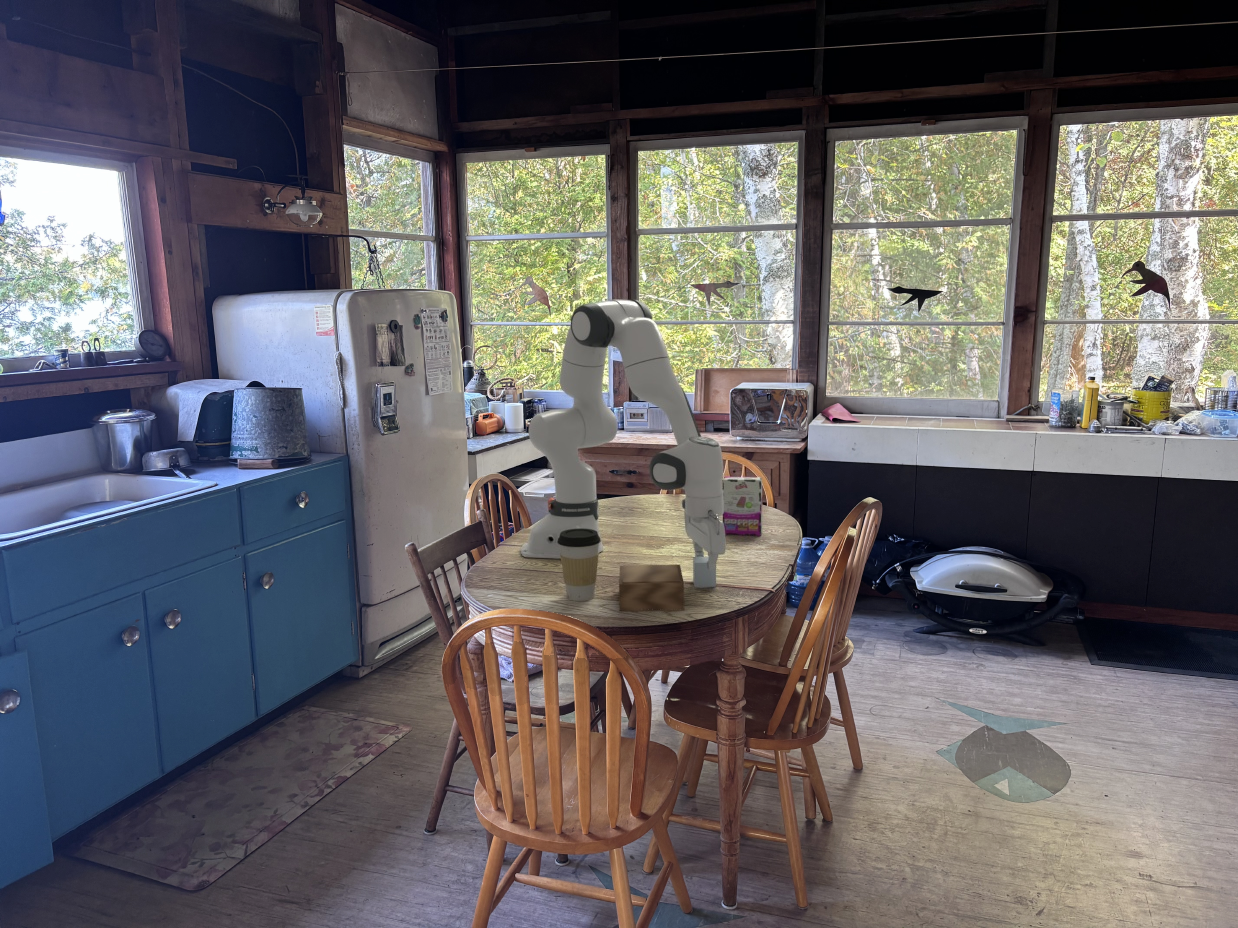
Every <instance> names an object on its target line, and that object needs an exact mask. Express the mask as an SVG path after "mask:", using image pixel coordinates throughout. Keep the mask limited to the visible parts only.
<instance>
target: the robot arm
mask: <svg viewBox="0 0 1238 928" xmlns="http://www.w3.org/2000/svg"><path fill="white" fill-rule="evenodd" d="M651 311H652V310H651V309H650V307H649V306H648V305H647V304H646V303H645V302H643V301H641V300H638V299H633V298H631V299H630V298H629V299H608V300H603V301H597V302H587V303H584V304H582V305H579V306H578V307H577V308H575V309H574V310H573V312H572V315H571V316H570V317H571V319H570V326H569V328H568V331H567V335H566V338H565V342H564V346H563V353H562V359H561V367H560V373H559V380H558V381H559V385H560V388H561V389H562V391H563V392H564V393H565V395H567V396H569V397H571V398H573V405H572V407H571V408H569V407H568V408H560V409H559V408H558V409H549V410H547V411H544V412H540V413H538V414H536V415H534V416H533V417H532V419H531V420H530V422H529V425H528V437H529V440H530V442H531V444H532V445H533V446H534V448H536V449H537V450H538V451H540V452H541V453H542V454H543V455H544V457H546V459H547V460H548V461H549V464H550V465H551V469H552V472H553V479H554V491H555V498H553V497H550V498H549V499H548V501H547V508H548V509H547V510H548V511H547V512H548V513H547V514H546V515H545V516H543V518H541V519H540V520H539V521H537V522H536V523H535V524H534V525H533V526H532V527H531V529H530V531H529V535H528V541H527V542H525V543H524V544H523V545H522V546H521V547H520V555H521V554H522V555H521V556H522V557H524V558H535V559H536V558H538V559H560V560H561V557H560V554H561V551H560V545H559V544H558V543H557V541H558V538H559V536H560V533H561V532H562V531H565V530H569V529H578V528H584V529H592V530H595V531H597V532H598V536H599V537H600V539H601V534H600V528H599V516H600V510H599V508H600V507H599V499H598V498H597V474H596V471H595V469H594V467H592V466H591V465H590V464H588V463H586V462H584V461H582V460H581V459H580V456H579V449H586V448H593V447H598V446H602V445H605V444H607V443H609V442H612V441H613V440H614V439H615V438H616V435H617V433H618V429H619V428H618V427H619V426H618V425H619V424H618V419H617V416H616V415H615V413H614V412H613V411H612V409H611V408H609V407H608V406H607V404H606V402H605V399H604V396H603V381H604V380H603V379H604V371H605V364H606V359H607V358H606V356H607V350H608V347H615V348H616V349H617V350H618V351H619V353H620V357H621V361H622V365H623V370H624V375H625V379H626V383H627V384H628V387H629V389H630V391H631V393H632V394H634V395H635V396H636V397H637V398H638V399H640V400H642V401H644V402H646V403H649V404H652V405H653V406H655V407H657V408H659V409H660V410H661V411H662V412H663V413H664V414H665V415H666V417H667V420H668V421H669V425H670V427H671V430H672V433H673V435H674V438H675V440H676V444H677V446H675V447H671V448H669V449H666V450H665V449H664V450H663V451H660V452H658V453H656V454H654V456H653V457H652V458H651V459H650V462H649V466H648V467H649V469H648V471H649V476H650V479H651V481H652V483H653V484H654V485H655V487H657V488H658V489H659V490H662V491H674V490H675V491H676V490H680V489H681V490H683V491H684V493H685V498H682V500H681V507H682V509H683V515H684V517H683V518H684V519H683V520H684V527H685V533H686V536H687V537H688V538H689V539H691V540H692V544H693V545H692V546H693V549H694V557H705V556H704V555H705V553H704V551H703V550H705V552H707V557H708V561H707V568H708V569H709V570H716V571H717V561H718V559H719V556H721V555H724V554H725V553H726V550H727V544H726V535H725V528H724V524H723V520H721V519H719V518H720V517H721V516H723V514H724V497H723V489H722V480H723V479H724V460H723V452H722V448H721V447H722V446H721V445H720V443H719V442H718V441H717V440H716V439H714V438H711V437H707V436H702V434H701V431H700V430H699V427H698V424H697V421H696V418H695V415H694V413H693V410H692V407H691V404H690V402H689V399H688V397H687V395H686V392H685V390H684V389H683V387H682V385H681V384H680V383H679V381H678V379H677V377H676V374H675V372H674V370H673V368H672V364H671V361H670V357H669V353H668V349H667V346H666V344H665V341H664V337H663V336H662V334H661V331H660V329H659V327H658V324H657V323H656V322H655V321H654V320H653V315H652V312H651ZM603 550H604V545H603V543H602V539H601V542H600V543H599V547H598V553H599V554H600V552H603Z"/></svg>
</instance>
